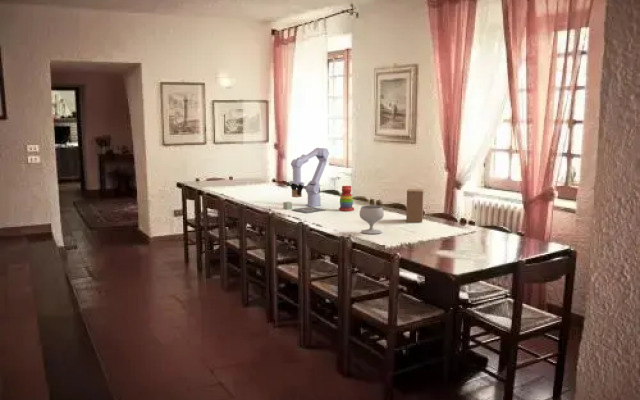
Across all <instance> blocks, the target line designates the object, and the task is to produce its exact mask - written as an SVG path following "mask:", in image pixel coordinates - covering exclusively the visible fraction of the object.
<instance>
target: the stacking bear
mask: <svg viewBox="0 0 640 400" xmlns="http://www.w3.org/2000/svg"><path fill="white" fill-rule="evenodd" d="M341 192H342V193H341V194H340V198H339V205H340V207H339V208H338V211H340V212H353V211H354V210H355V207H354V206H353V205H354V198H353V195H352V193H351V192H352V185H342V186H341Z"/></svg>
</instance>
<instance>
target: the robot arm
mask: <svg viewBox="0 0 640 400" xmlns="http://www.w3.org/2000/svg"><path fill="white" fill-rule="evenodd" d="M329 155H330V152H329V149H328V148H325V147H316V148H314V149H313V150H311V151H310V152H309V153H307V154H301V156H299V157H297V158H296V159H295V158H294V159H292V160H291V163H290V165H291V168H292V180H289V186H290V188H291V191H292V190H296V189H297V191H298V195H301V191H303V188H304V187H305V192H306V194H307V204H305V206H307V207H317V206H322V203H321V199H322V198H321V194H320V193H319V192H320V187H321V185H320V180H321V178H322V175H323V173H324V170H325V168H326V166H327V163H328V158H329ZM314 157H316V159H317V160H318V164H317V166H316V169H315V171H314V174H313V176H312V179H311V180H310V181H309V182H308V183H307V185H306V186H305V182H303V181H302V180H301V179H302V177H301V174H302V173H301V172H302V170H301V169H302V167H303V165H305V164H306V163H307V162H309V160H310V159H312V158H314Z"/></svg>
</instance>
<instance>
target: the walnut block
mask: <svg viewBox="0 0 640 400" xmlns="http://www.w3.org/2000/svg"><path fill="white" fill-rule="evenodd" d="M302 191H303V190H302ZM302 191H301V195H298V191H297V188H296V190H292V189H291V197H293V198H301V197H302Z"/></svg>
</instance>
